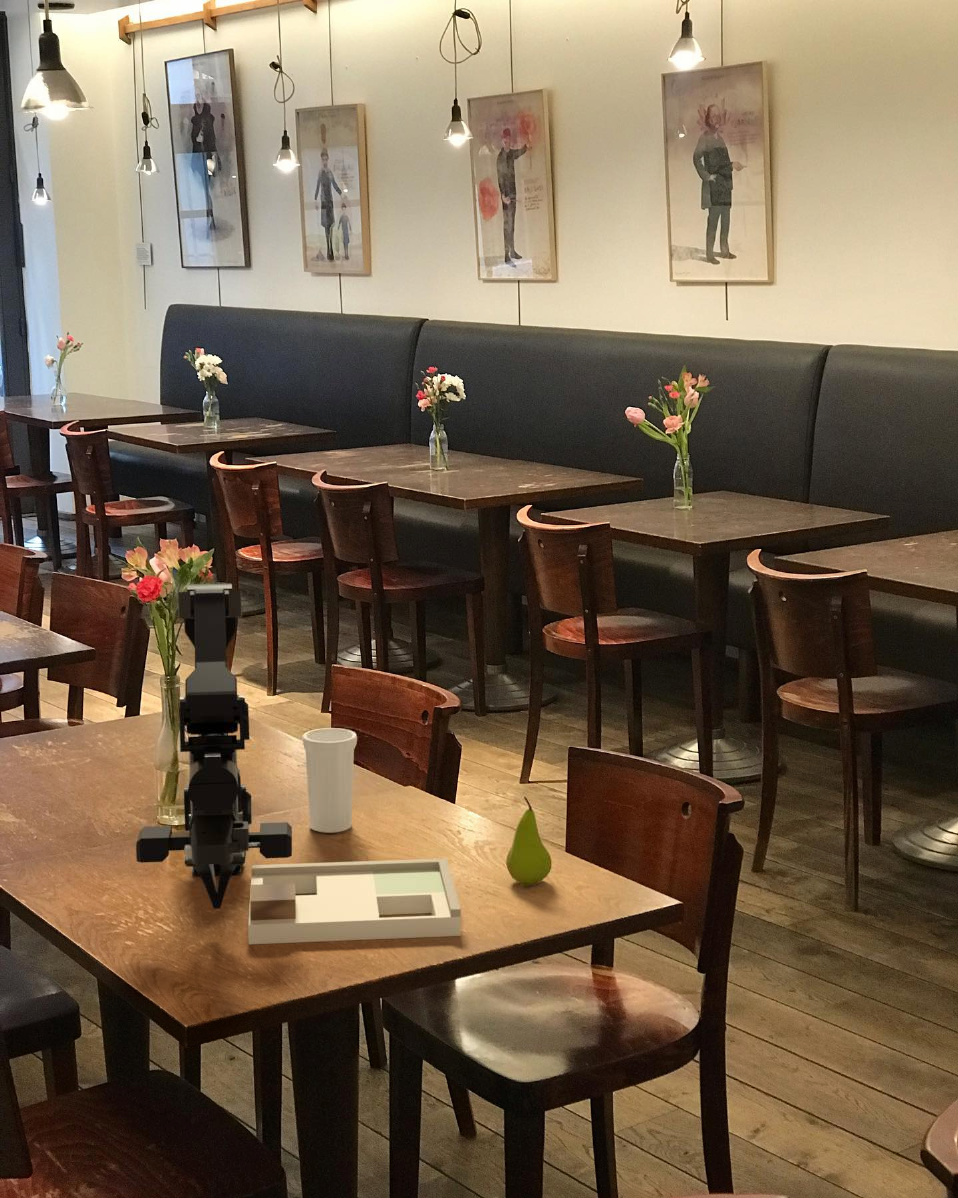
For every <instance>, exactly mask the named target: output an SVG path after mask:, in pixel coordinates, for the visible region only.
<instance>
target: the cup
mask: <svg viewBox="0 0 958 1198" xmlns="http://www.w3.org/2000/svg"><path fill="white" fill-rule="evenodd" d="M301 739H302V740H301V741H302V744H303V747H304V750H305V763H306V764H305V765H306V783H307V797H308V798H307V799H308V812H309V813H308V814H309V828H310V829H311V830H313V831H314V832H315V831H316V832H320V833H327V834H329V833H340V832H345V831H347V830H349V829H351V827H352V826H353V824H352V821H353V820H352V819H353V793H354V792H353V790H354V789H353V786H354V785H353V784H354V758H355V756H354V754H355V748H356V746H357V742H358V736H357V733H356V731H352V730H350V729H346V728H338V727H337V728H335V727H328V728H318V729H316V728H315V729H312V730H309V731H306V732H305V733H304V734H303V735H302V736H301Z"/></svg>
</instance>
